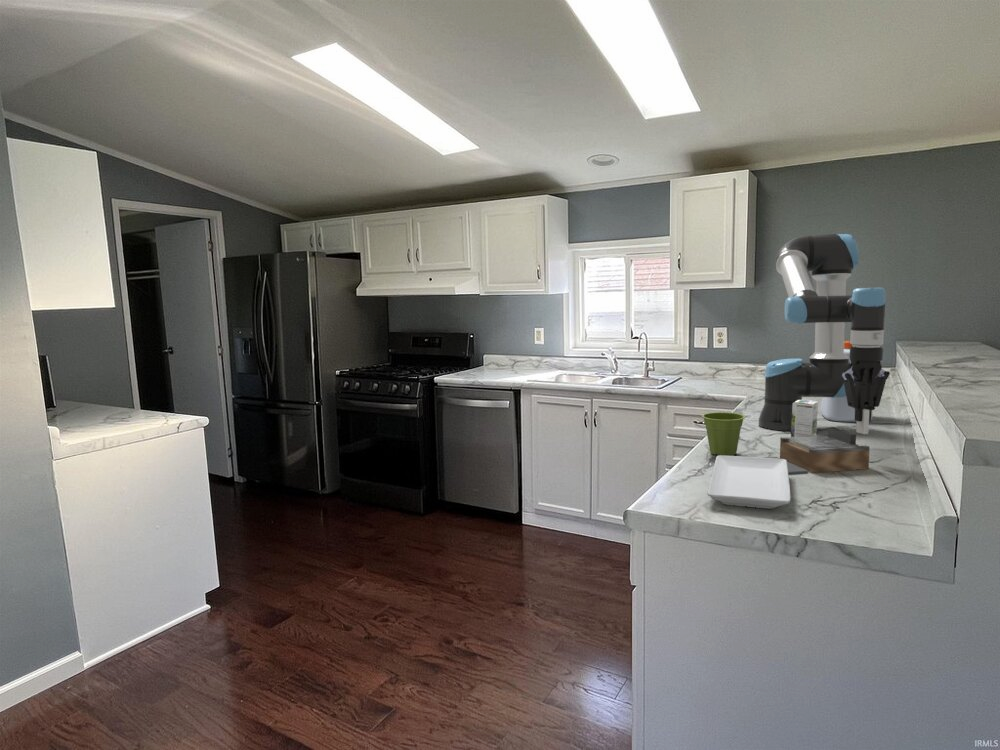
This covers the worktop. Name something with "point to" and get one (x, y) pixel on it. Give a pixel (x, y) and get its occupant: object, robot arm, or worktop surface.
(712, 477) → the tray
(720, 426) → the plant pot
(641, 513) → the worktop surface
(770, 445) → the worktop surface
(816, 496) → the worktop surface
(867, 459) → the walnut box
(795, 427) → the syrup box
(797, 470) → the rubber mat
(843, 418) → the plastic bottle
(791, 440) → the lid
